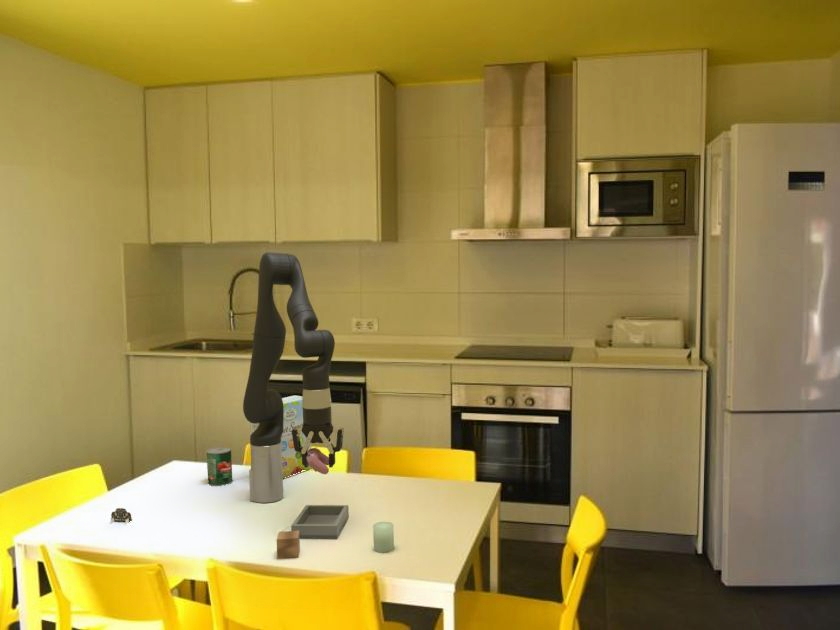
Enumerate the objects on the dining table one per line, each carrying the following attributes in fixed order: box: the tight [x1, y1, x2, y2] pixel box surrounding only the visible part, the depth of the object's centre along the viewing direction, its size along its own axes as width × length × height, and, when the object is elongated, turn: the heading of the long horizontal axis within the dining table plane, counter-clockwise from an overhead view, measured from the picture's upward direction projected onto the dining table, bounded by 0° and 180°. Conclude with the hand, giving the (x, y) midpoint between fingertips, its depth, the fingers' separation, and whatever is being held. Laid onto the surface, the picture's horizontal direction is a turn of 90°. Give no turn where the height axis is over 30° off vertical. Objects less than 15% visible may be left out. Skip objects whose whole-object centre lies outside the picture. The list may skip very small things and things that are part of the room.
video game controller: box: [307, 446, 330, 475], centre depth 194 cm, size 10×5×7 cm, turn 3°
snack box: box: [249, 395, 313, 479], centre depth 244 cm, size 22×9×26 cm, turn 147°
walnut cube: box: [276, 530, 301, 560], centre depth 177 cm, size 5×5×5 cm
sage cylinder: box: [372, 521, 395, 554], centre depth 179 cm, size 5×5×6 cm
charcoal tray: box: [290, 504, 350, 540], centre depth 194 cm, size 12×16×4 cm
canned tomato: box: [206, 446, 233, 487], centre depth 238 cm, size 8×8×11 cm
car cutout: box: [110, 507, 133, 525], centre depth 202 cm, size 15×7×4 cm, turn 79°
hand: (319, 466), depth 193 cm, fingers closed on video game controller, 6 cm apart
